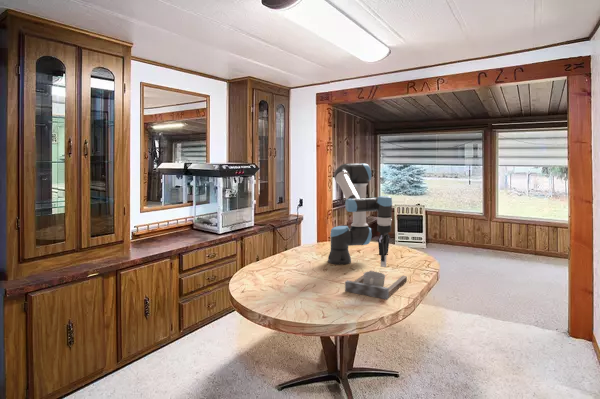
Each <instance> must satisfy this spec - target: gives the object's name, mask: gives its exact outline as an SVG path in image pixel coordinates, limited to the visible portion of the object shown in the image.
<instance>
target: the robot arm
mask: <svg viewBox="0 0 600 399" xmlns="http://www.w3.org/2000/svg"><path fill="white" fill-rule="evenodd" d="M371 170H372V169H371V167H370V165H369V164H367V163H362V162H359V163H358V162H357V163H353V162H352V163H342V164H340V165H339V166H338V167H337V168H336V169H335V170H334V174H333V176H334V180H335V181H334V182H336V183H337V184H338V185H339V187H340V189H341V192H342V193H343V197H344V198H345V199H346V200H345V203H344V204H345V205H344V206H345V207H344V208H345V210H346V212H349V213H352V223H351V224H350V227H349V226H348V225H338V226H334V227H331V230H330V234H329V235H330V236H329V237H330V251H329V254H328V258H327V262H328V263H329V264H332V265H339V266H340V265H348V264H350V263H352V258H351V255H350V254H351V253H350V251H349V247H351V246H367V245H369V244H370V242H371V241H372V236H373V234H372V228H371V227H369V224H368V223H367V212H377V219H376V224H377V225H376V232H378V233H379V236H378V237H379V238H378V239H377V244H378V255H379V256H380V267H381V268H387V256H389V248H390V246H389V245H390V239H391V235H390V234H389V233H391V232H392V221H393V219H392V211H393V199H392V197H391V196H389V195H379V196H377V197H367V186H368V185H369V182H371V180H372V171H371Z"/></svg>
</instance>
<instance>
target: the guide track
mask: <svg viewBox="0 0 600 399" xmlns="http://www.w3.org/2000/svg"><path fill="white" fill-rule="evenodd" d="M370 271H371V272H375V270H369V271H368V272H370ZM407 280H408V276H407V275H406V276H405V275H402V276H400V277H399V278H398V279H397V280H396V281H394V282H393V283H392V284H390V285H389V287H386V286H383V287H381V286H375V285H370V284H364V274H363V275H361V276H360V277H358V278H357V279H355V280H348V279H347V280H346V281H345V282H344V286H345V287H344V291H345V292H348V293H352V294H353V293H354V294H358V295H363V296H366V297H367V296H368V297H373V298H379V299H383V300H388V299H389V298H390V296H392V295H393V294H394V293H395V292H397V290H398V289H400V288H401V287H402V285H404V284H405V283H406V282H407Z"/></svg>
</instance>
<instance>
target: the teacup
mask: <svg viewBox="0 0 600 399" xmlns="http://www.w3.org/2000/svg"><path fill="white" fill-rule="evenodd" d="M369 271H370V272H369ZM369 271H365V272H363V275H364V284H370V285H375V286H381V287H385V277H386V275H385V274H384V273H383V272H378V271H374V272H371V271H372V270H369Z"/></svg>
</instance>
